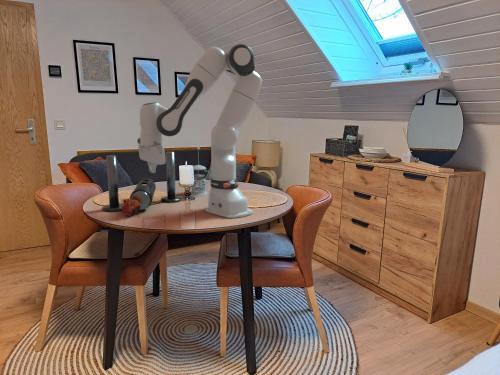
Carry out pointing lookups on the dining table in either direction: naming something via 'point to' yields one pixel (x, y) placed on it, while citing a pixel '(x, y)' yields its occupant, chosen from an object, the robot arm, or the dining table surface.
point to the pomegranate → (131, 207)
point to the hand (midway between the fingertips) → (152, 172)
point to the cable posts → (113, 183)
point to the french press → (199, 189)
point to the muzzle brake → (144, 193)
